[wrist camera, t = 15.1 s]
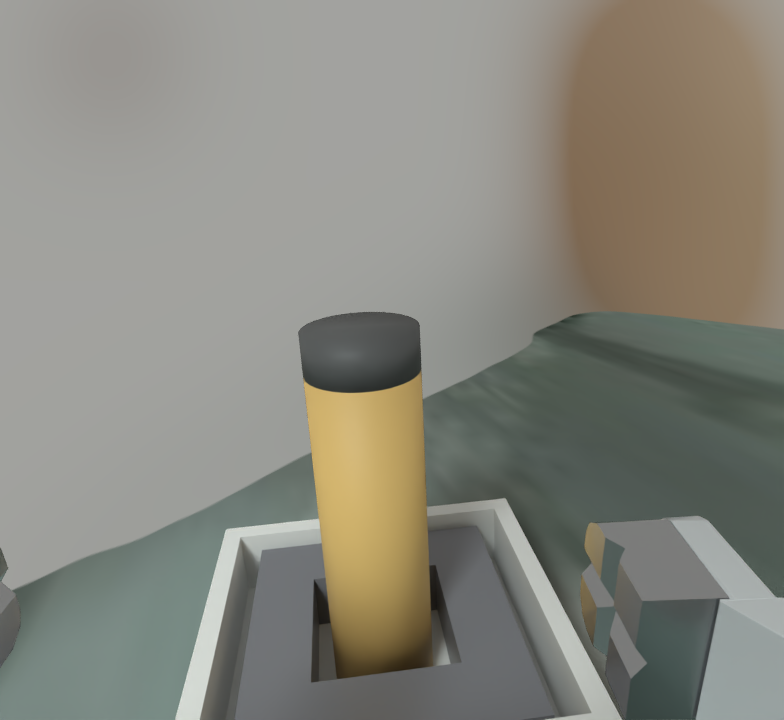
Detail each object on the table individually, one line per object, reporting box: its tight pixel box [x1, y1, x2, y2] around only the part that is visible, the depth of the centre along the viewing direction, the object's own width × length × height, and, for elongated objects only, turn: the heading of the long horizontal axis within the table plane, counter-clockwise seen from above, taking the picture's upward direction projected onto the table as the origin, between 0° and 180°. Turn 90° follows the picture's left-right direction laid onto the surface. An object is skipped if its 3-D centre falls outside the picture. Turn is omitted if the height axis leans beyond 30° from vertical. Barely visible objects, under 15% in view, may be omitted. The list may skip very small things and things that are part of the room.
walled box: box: [175, 498, 622, 720], centre depth 24 cm, size 14×13×4 cm
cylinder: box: [298, 312, 433, 679], centre depth 22 cm, size 4×4×14 cm
